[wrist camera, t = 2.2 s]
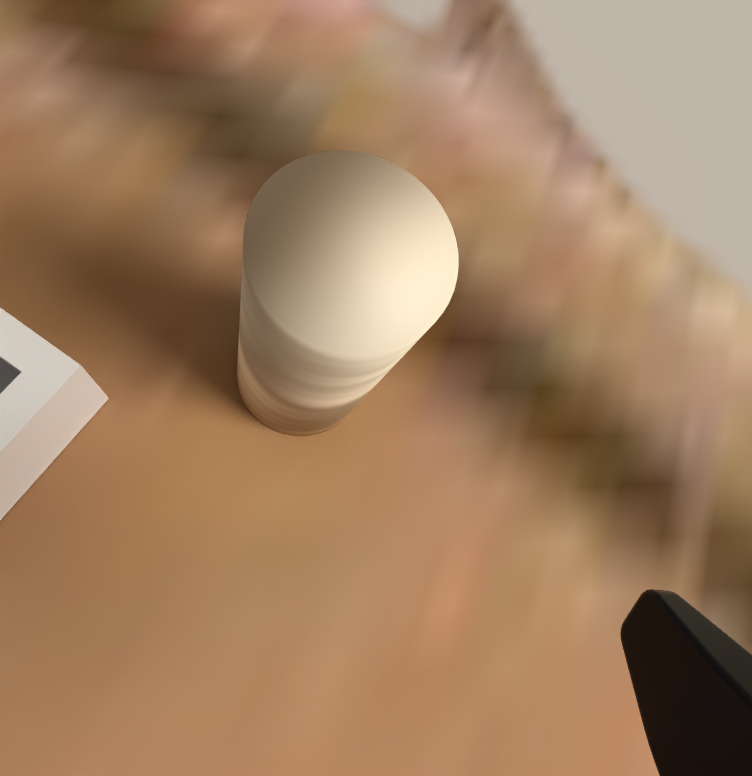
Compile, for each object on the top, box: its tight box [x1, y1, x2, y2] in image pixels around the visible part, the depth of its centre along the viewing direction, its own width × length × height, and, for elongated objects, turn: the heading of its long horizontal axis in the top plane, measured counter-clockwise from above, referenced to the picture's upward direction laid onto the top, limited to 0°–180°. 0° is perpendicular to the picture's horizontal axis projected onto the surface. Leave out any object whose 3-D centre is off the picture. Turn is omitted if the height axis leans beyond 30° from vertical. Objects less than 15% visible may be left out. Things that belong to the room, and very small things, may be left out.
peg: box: [237, 151, 459, 436], centre depth 17 cm, size 4×4×10 cm
